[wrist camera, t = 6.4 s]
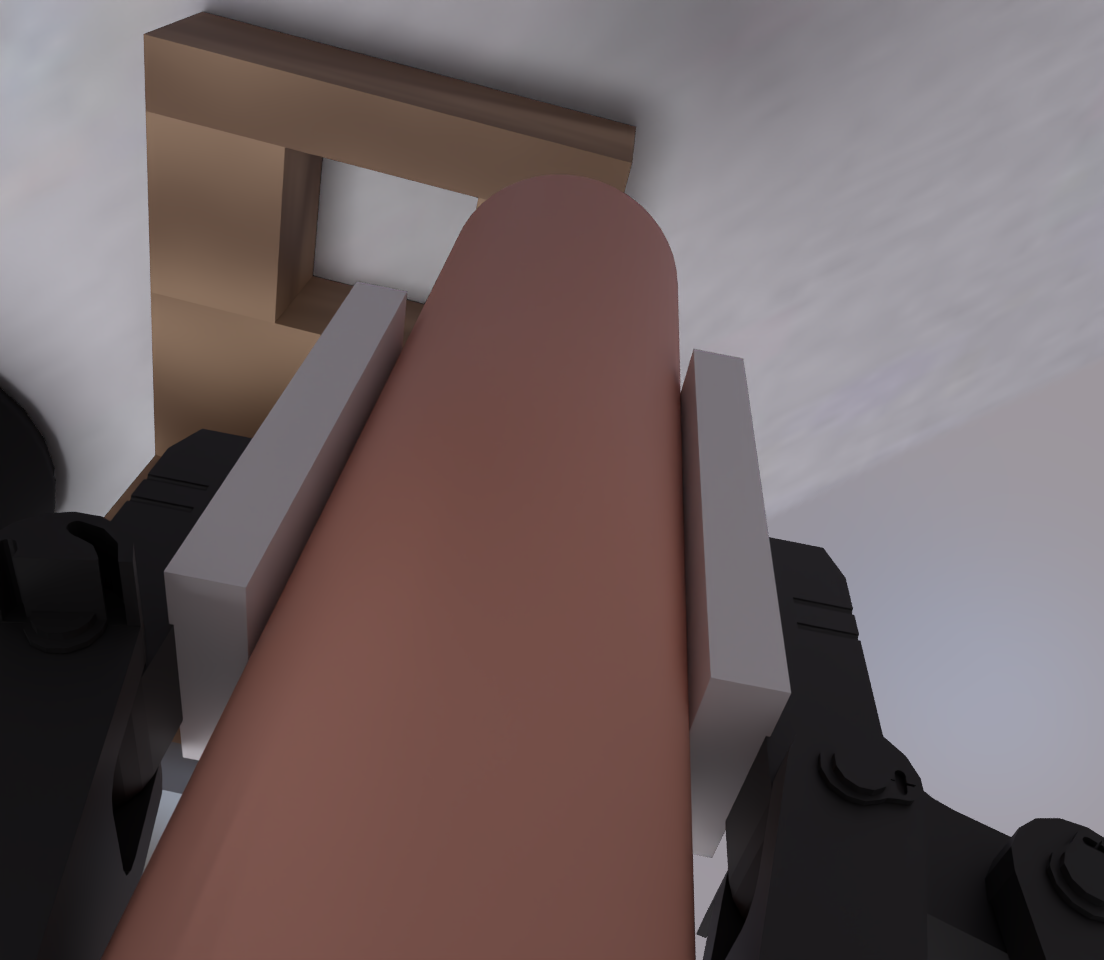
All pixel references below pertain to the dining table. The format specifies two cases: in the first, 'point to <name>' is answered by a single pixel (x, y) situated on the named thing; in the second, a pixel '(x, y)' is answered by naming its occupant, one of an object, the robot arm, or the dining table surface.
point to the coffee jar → (23, 466)
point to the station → (297, 208)
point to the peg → (472, 640)
